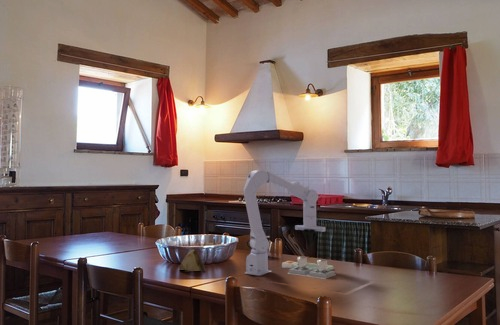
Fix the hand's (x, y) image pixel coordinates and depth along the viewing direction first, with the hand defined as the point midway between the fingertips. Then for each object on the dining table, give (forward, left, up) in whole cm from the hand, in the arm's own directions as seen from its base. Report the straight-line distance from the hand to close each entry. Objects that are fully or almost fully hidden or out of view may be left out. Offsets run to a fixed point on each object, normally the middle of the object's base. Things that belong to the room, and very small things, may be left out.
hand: (310, 247), depth 204 cm
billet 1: (-10, -2, -9) cm, 14 cm away
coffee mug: (+15, +40, -10) cm, 44 cm away
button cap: (-3, +9, -10) cm, 14 cm away
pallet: (-11, -7, -10) cm, 16 cm away
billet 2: (-11, -12, -9) cm, 19 cm away
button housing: (-3, +9, -10) cm, 14 cm away
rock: (-33, +41, -10) cm, 54 cm away
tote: (-1, -2, -10) cm, 10 cm away
